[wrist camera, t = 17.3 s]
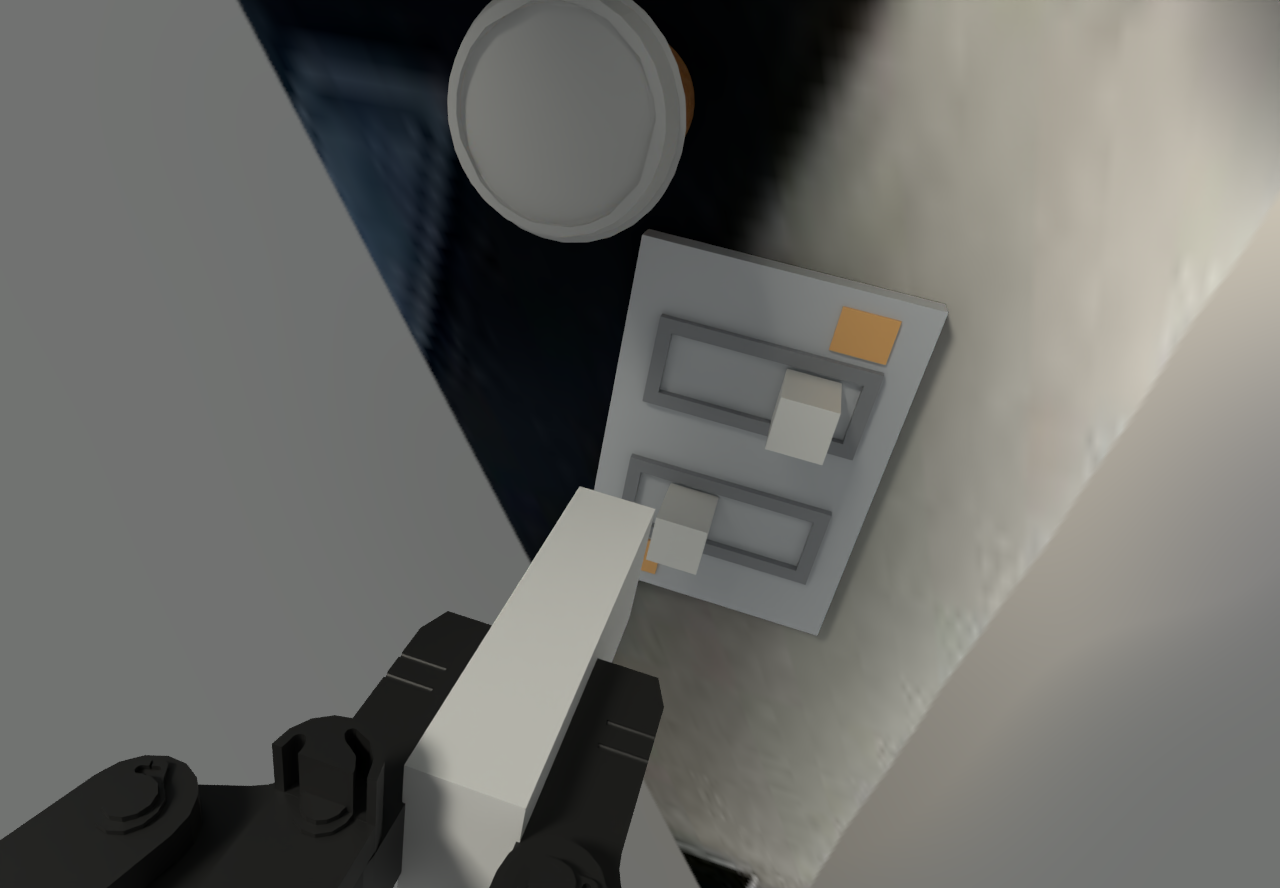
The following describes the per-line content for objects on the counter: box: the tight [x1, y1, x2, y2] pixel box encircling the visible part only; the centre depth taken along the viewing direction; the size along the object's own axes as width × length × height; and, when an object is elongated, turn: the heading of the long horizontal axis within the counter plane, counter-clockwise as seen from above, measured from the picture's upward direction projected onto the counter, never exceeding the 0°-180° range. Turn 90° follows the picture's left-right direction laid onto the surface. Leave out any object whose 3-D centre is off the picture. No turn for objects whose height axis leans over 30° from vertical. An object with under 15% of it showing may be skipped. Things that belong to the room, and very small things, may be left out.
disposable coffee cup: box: [447, 0, 695, 242], centre depth 34 cm, size 10×10×12 cm
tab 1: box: [646, 483, 719, 575], centre depth 45 cm, size 3×3×4 cm
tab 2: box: [765, 369, 842, 465], centre depth 40 cm, size 3×3×4 cm
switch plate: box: [594, 229, 948, 636], centre depth 45 cm, size 16×22×2 cm
